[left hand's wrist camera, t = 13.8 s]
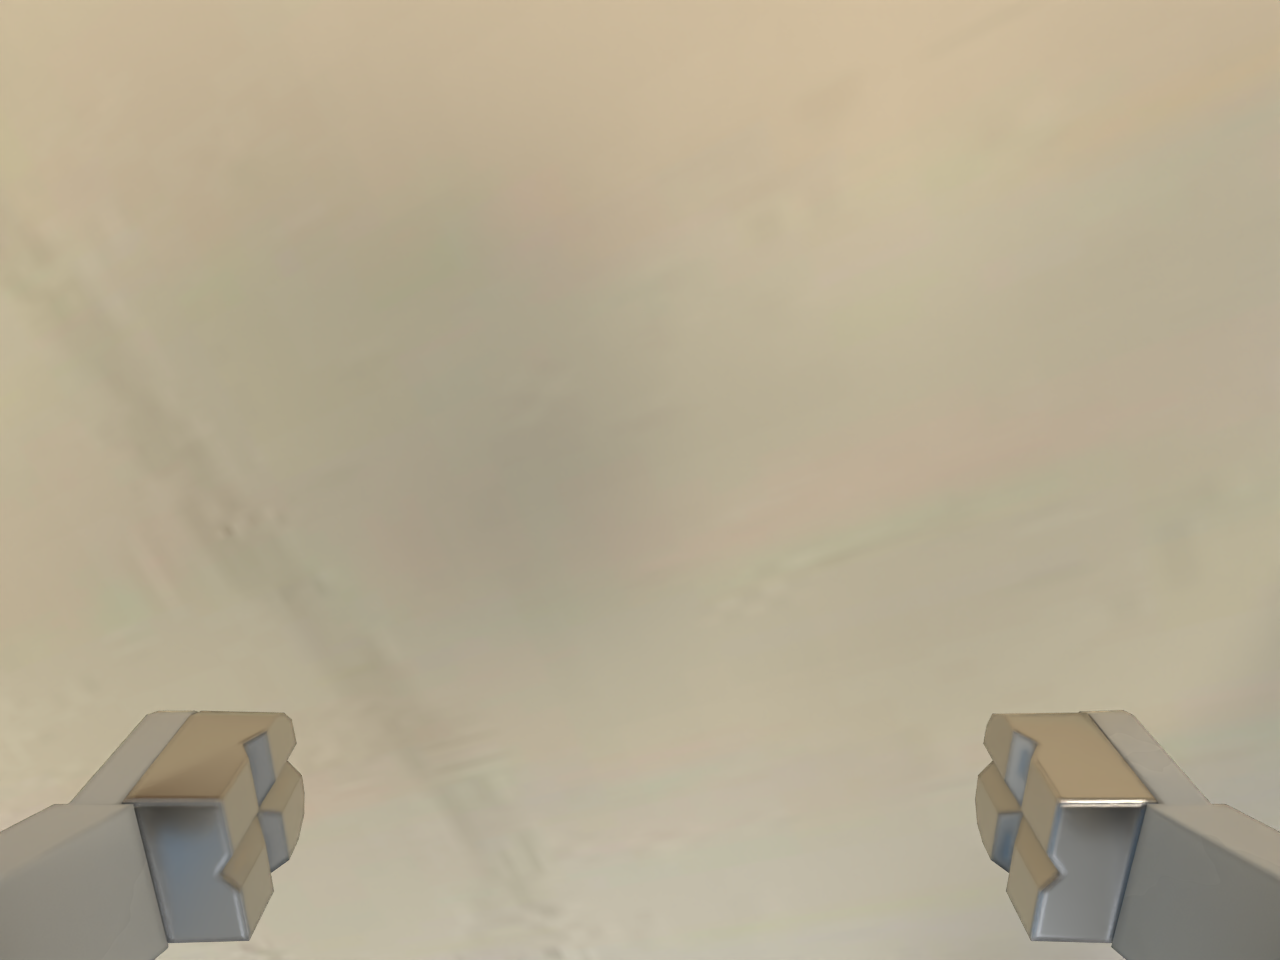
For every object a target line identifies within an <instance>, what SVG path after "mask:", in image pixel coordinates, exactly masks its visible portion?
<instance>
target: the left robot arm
mask: <svg viewBox="0 0 1280 960" xmlns="http://www.w3.org/2000/svg"><path fill="white" fill-rule="evenodd" d="M296 744H297V743H296V738H295V733H294V728H293V724H292V719H291V718H289V717H288V716H287V715H286V714H285V713H276V712H229V711H200V712H197V711H156V712H153V713H150V714H148V715H146V716H145V717H144V718H143V719H142V721H141V722H140V723H139V724H138V725H137V726H136V727H135V729H134V730H133V731H132V732H131V733H130V734H129V735H128V737H127V738H126V739H125V740H124V741H123V742H122V743H121V745H120V746H119V747H118V748H117V749H116V750H115V751H114V753H113V754H112V755H111V756H110V757H109V758H108V759H107V761H106V762H105V763H104V764H103V765H102V766H101V767H100V769H99V770H98V771H97V772H96V773H95V774H94V775H93V777H92V778H91V779H90V780H89V781H88V782H87V784H86V785H85V786H84V787H83V788H82V789H81V790H80V792H79V793H78V794H77V795H76V796H75V797H74V798H73V800H72V801H71V802H70V803H69V804H54V805H52V806H50V807H48V808H46V809H44V810H42V811H40V812H38V813H36V814H34V815H32V816H30V817H28V818H26V819H24V820H23V821H21V822H19V823H17V824H15V825H13V826H11V827H9V828H7V829H5V830H3V831H1V832H0V960H154V959H155V958H157V957H158V956H159V955H160V954H161V953H163V952H164V951H165V950H166V949H167V948H168V943H186V942H220V941H249V940H250V938H251V936H252V934H253V932H254V930H255V928H256V926H257V924H258V922H259V920H260V918H261V916H262V914H263V912H264V910H265V908H266V906H267V904H268V902H269V900H270V898H271V896H272V894H273V892H274V889H273V883H272V877H271V872H273V871H274V870H276V869H277V868H278V867H280V866H281V865H283V864H284V863H285V862H287V861H288V860H289V859H290V857H291V855H292V853H293V850H294V848H295V846H296V844H297V842H298V840H299V835H300V831H301V826H302V822H303V817H304V786H303V780H302V775H301V774H300V773H299V772H298V771H297V770H296V769H295V768H294V767H293V766H292V765H291V764H290V763H289V762H288V761H287V760H288V758H289V756H290V754H291V753H292V751H293V749H294V747H295V745H296ZM983 744H984V745H985V747H986V749H987V751H988V753H989V754H990V756H991V758H992V760H993V761H992V762H991V763H990V764H989V765H988V766H987V767H986V768H985V769H984V770H983V771H982V772H981V773H980V774H979V775H978V781H977V789H976V797H975V804H976V815H977V825H978V828H979V831H980V835H981V838H982V842H983V844H984V846H985V848H986V851H987V853H988V855H989V857H990V859H991V860H992V861H993V862H995V863H996V864H997V865H999V866H1000V867H1002V868H1003V869H1004V870H1006V871H1007V872H1009V878H1008V883H1007V889H1006V892H1007V894H1008V896H1009V898H1010V900H1011V902H1012V904H1013V906H1014V908H1015V910H1016V912H1017V914H1018V916H1019V918H1020V920H1021V922H1022V924H1023V926H1024V928H1025V930H1026V932H1027V934H1028V936H1029V938H1030V940H1031V941H1058V942H1093V943H1112V946H1111V947H1112V948H1113V949H1114V950H1116V951H1117V952H1118V953H1119V954H1120V955H1121V956H1123V957H1124V958H1125V959H1126V960H1280V832H1279V831H1277V830H1275V829H1273V828H1271V827H1269V826H1267V825H1265V824H1263V823H1261V822H1259V821H1257V820H1255V819H1254V818H1252V817H1250V816H1248V815H1246V814H1244V813H1242V812H1240V811H1238V810H1236V809H1234V808H1232V807H1230V806H1228V805H1226V804H1211V803H1210V802H1209V801H1208V800H1207V798H1206V797H1205V796H1204V795H1203V794H1202V793H1201V792H1200V790H1199V789H1198V788H1197V787H1196V786H1195V785H1194V784H1193V782H1192V781H1191V780H1190V779H1189V778H1188V777H1187V776H1186V774H1185V773H1184V772H1183V771H1182V770H1181V769H1180V768H1179V766H1178V765H1177V764H1176V763H1175V762H1174V761H1173V760H1172V758H1171V757H1170V756H1169V755H1168V754H1167V753H1166V751H1165V750H1164V749H1163V748H1162V747H1161V746H1160V745H1159V743H1158V742H1157V741H1156V740H1155V739H1154V738H1153V737H1152V735H1151V734H1150V733H1149V732H1148V731H1147V730H1146V729H1145V727H1144V726H1143V725H1142V724H1141V723H1140V722H1139V721H1138V719H1137V718H1136V717H1135V716H1134V715H1132V714H1130V713H1128V712H1126V711H1124V710H1113V711H1081V712H1079V713H1010V714H992V716H991V718H990V720H989V722H988V724H987V726H986V732H985V737H984V743H983Z"/></svg>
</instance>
